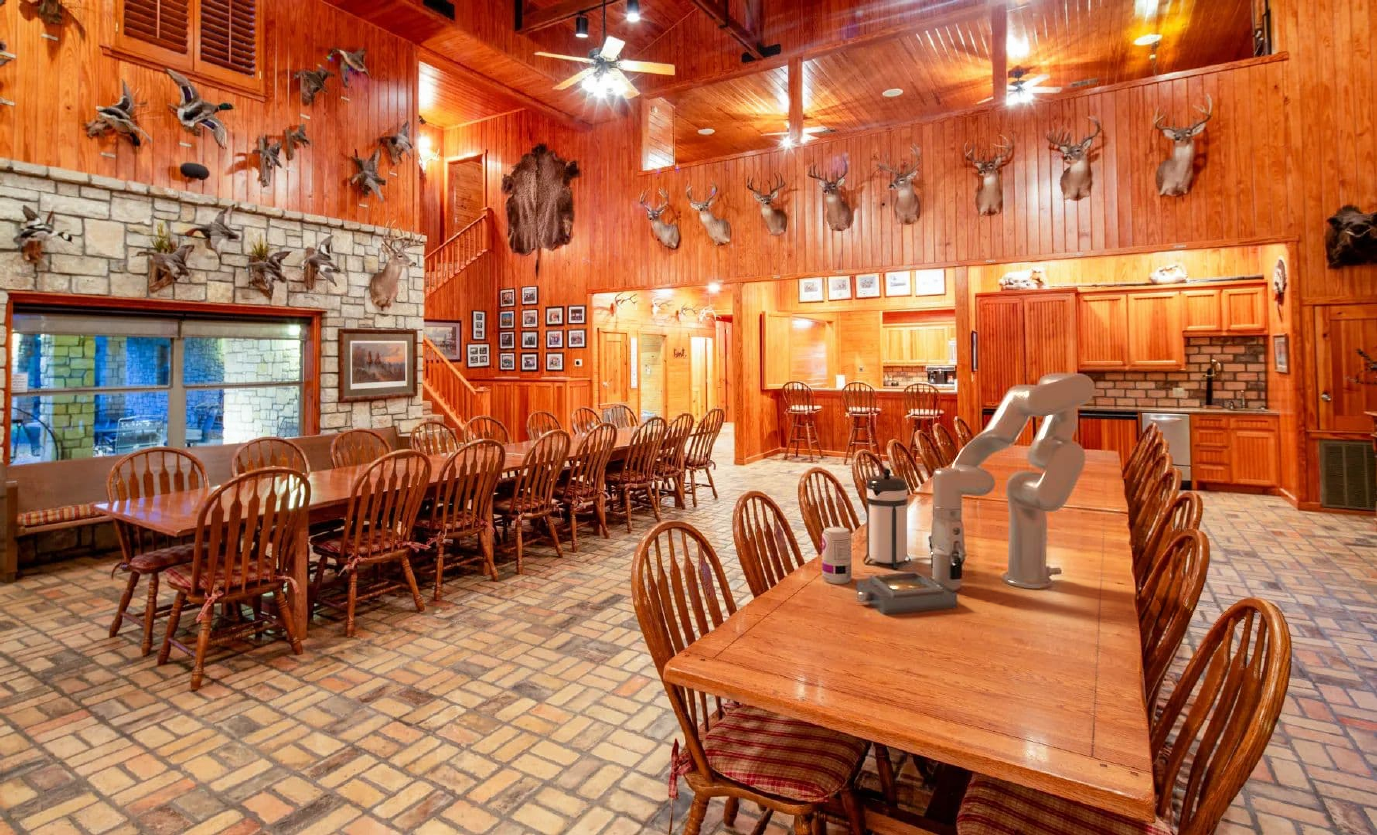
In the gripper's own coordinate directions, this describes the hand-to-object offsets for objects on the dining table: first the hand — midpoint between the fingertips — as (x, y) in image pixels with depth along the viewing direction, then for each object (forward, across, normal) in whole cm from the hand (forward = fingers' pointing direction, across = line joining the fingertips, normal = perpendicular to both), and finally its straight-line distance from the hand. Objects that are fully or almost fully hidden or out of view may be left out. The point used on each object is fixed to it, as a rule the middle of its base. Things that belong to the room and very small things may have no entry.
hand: (946, 573), depth 187 cm
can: (+4, 0, 0) cm, 4 cm away
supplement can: (+4, +13, +27) cm, 30 cm away
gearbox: (+4, -7, +17) cm, 19 cm away
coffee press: (+4, +26, +5) cm, 27 cm away
